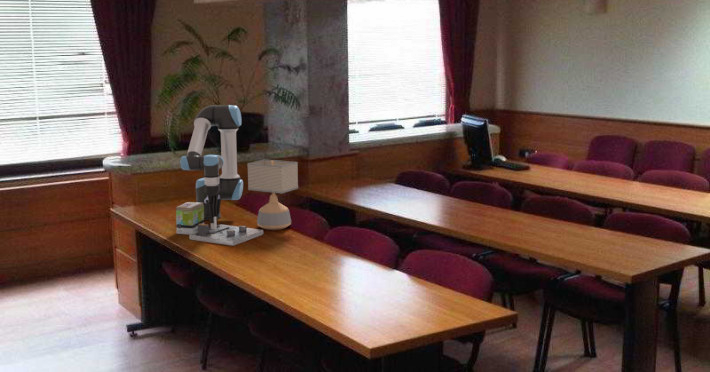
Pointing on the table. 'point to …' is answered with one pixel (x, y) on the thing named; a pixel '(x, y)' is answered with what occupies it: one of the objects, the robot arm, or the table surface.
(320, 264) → the table surface
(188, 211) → the tea box
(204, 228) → the cap
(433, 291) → the table surface
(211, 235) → the console
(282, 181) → the desk lamp
